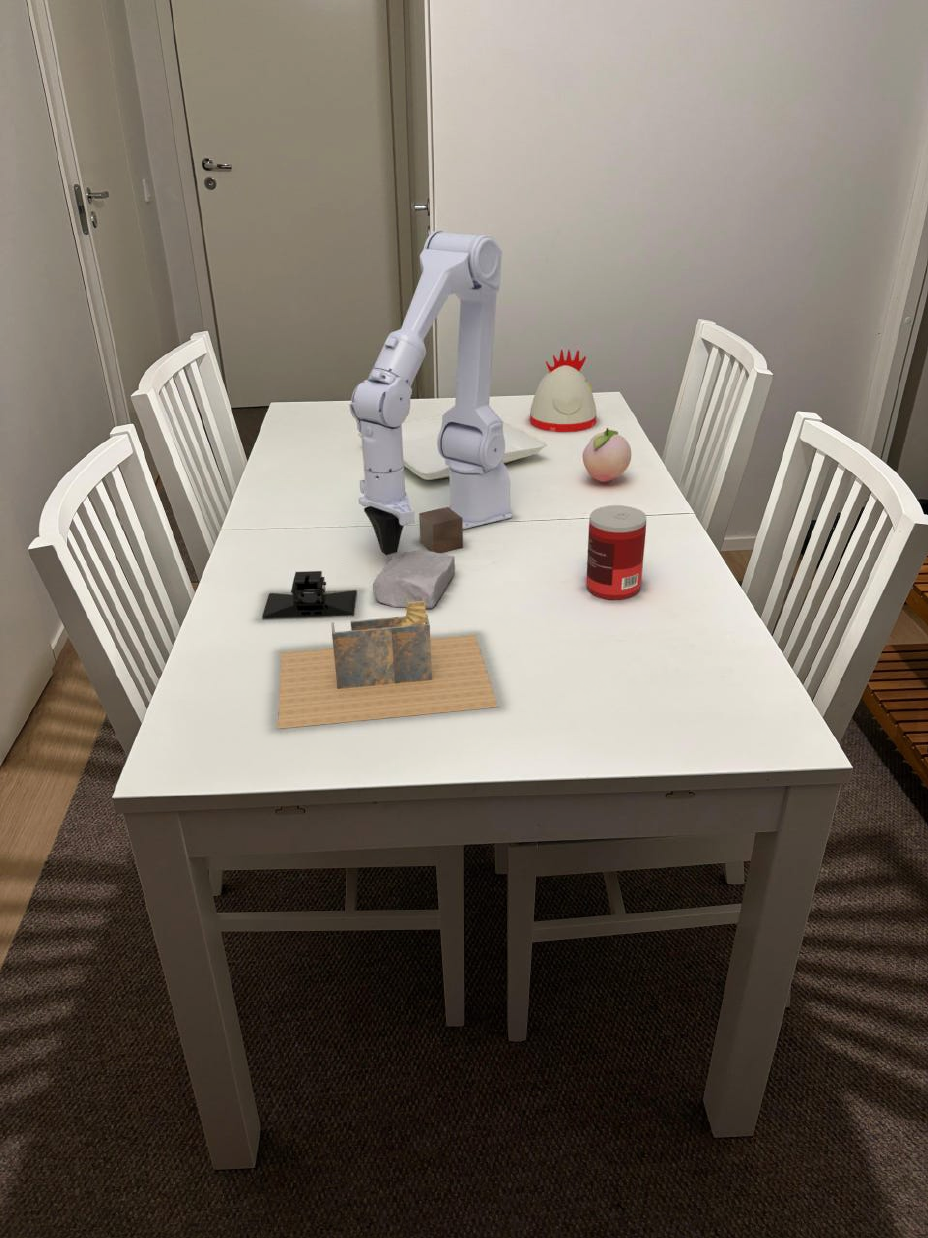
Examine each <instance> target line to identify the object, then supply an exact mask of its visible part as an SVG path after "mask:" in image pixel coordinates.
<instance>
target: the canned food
mask: <svg viewBox="0 0 928 1238" xmlns="http://www.w3.org/2000/svg"><path fill="white" fill-rule="evenodd" d="M588 519H589V522H588V534H587V535H588V538H587V559H586V577H585V579H586V580H585V584H586V586H587V589H588V591H589V592H590V593H591V594H592V595H594V596H596V597H599V598H601V599H605V600H625V599H628V598H630V597H633V596H634V595H636V594H637V593H638V592H639V590H640V588H641V586H642V578H643V577H642V576H643V568H644V567H643V565H644V555H645V546H646V545H645V544H646V533H647V515H646V513H645V512H644V511H642V510H640V509H638V508H637V507H633V506H629V505H623V504H622V505H620V504H614V505H605V506H601V507H598V508H596V509H594V510H592V511H591V512H590V514H589V518H588Z"/></svg>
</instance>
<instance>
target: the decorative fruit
mask: <svg viewBox="0 0 928 1238" xmlns="http://www.w3.org/2000/svg"><path fill="white" fill-rule="evenodd" d="M631 461H632V448H631V444H630V443H629V442H628V440H627V439H626V438H625V437H623V436H621V434H619V431H617V430H613V429H610V428H609V427H607V428H606V430H605V431H603V432H599V433H597V434H595V435H594V436H593V437H592V438H591V439H590V440H589V442H588V443H587V444H586V445H585V447H584V449H583V451H582V462H583V465H584V468H585V470H586V471H587V473H588V474H589V476H591V477H592V478H593V479H594V480H596V481H598V482H601V483H606V482H609V481H611V480H614V479H616V478H618V477H619V476H621V475H623V474H624V473H625V472H626V471H627V469H628V467H629V466H630V465H631Z"/></svg>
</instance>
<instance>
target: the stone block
mask: <svg viewBox="0 0 928 1238" xmlns="http://www.w3.org/2000/svg"><path fill="white" fill-rule="evenodd" d="M455 561H456V560H455V556H454V555H448V554H443V553H435V552H431V551H430V550H419V549H417V550H412V551H404V552H402V553H398V554H395V555H393V556H392V557H391V559H390V560H389V561H387V562H386V564H384V566H383V567H382V568H381V570H380V572H379V573H378V574H377V575H376V577H375V579H374V580H373V583H372V591H373V594H374V597H375V599H376V600H377V601H378V603H381V604H384V605H387V606H391V607H393V608H406V605H408V602H418V601H423V598H424V603H425V610H427V609H428V610H429V609H433V608H434V607H435V606H436V605H437V603H438V602H439V599H440V598H441V597H442V595H443V593H444V591H445V590H446V588H447V587H448V585H449V584H450V582H451V580H452V579H453V577H454V575H455V571H456V563H455ZM407 599H408V601H407Z"/></svg>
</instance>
